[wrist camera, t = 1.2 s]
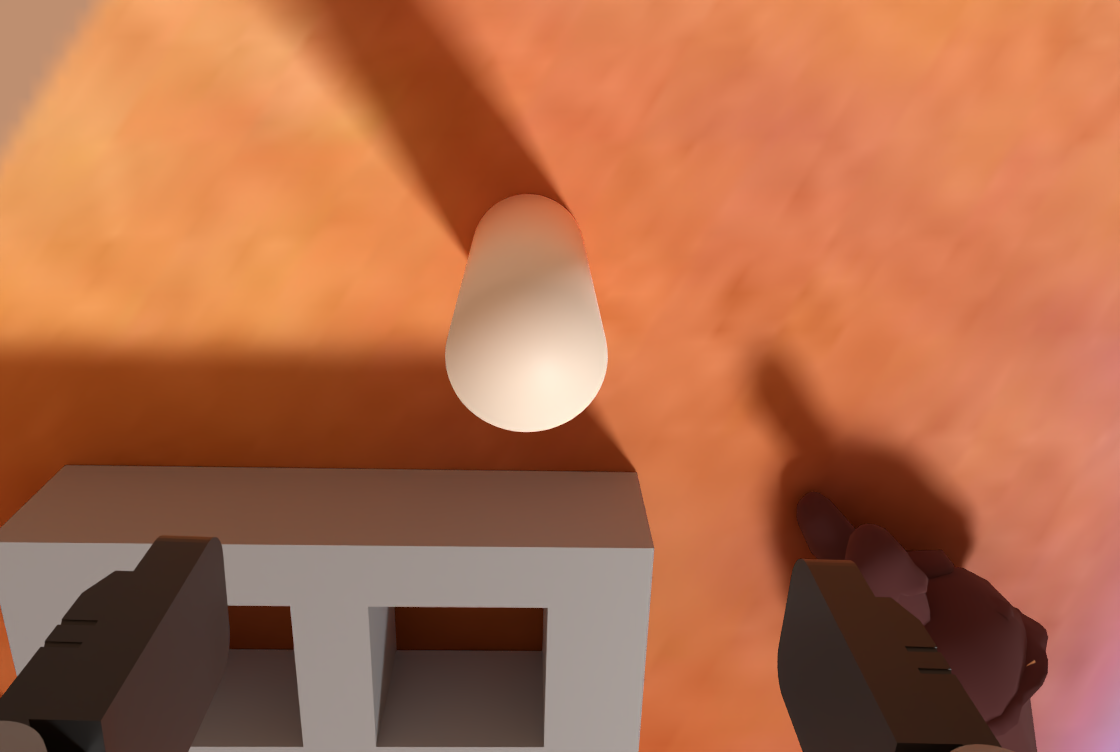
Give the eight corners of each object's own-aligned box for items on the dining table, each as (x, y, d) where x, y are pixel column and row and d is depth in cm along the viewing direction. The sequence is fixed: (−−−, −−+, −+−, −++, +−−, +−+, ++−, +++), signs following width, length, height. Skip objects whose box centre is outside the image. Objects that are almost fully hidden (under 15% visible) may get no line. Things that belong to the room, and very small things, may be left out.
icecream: (1193, 806, 31) (984, 469, 27) (1025, 947, 30) (790, 622, 27) (1048, 703, 38) (865, 421, 34) (909, 817, 37) (709, 544, 34)
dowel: (585, 195, 29) (611, 281, 20) (581, 304, 30) (603, 433, 21) (471, 192, 29) (443, 278, 20) (472, 302, 30) (446, 430, 21)
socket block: (636, 472, 33) (654, 548, 28) (621, 696, 36) (634, 796, 32) (65, 464, 32) (-15, 541, 27) (108, 695, 36) (45, 797, 31)
